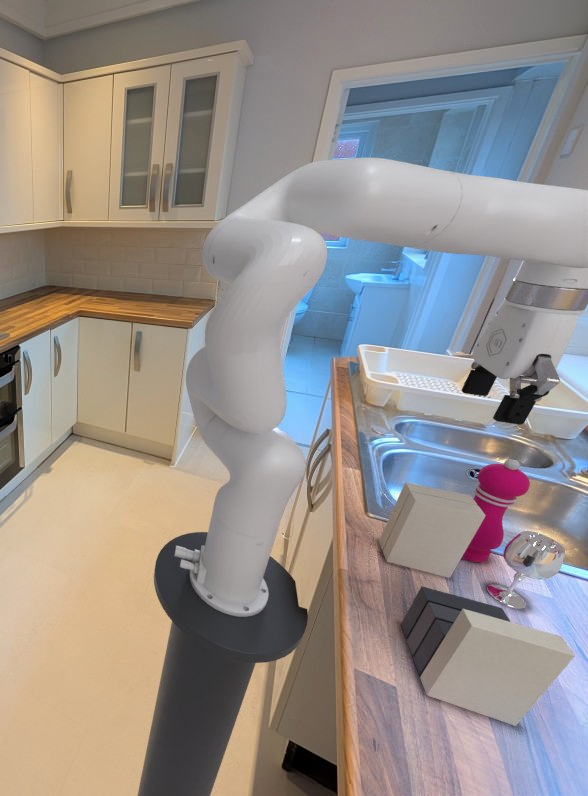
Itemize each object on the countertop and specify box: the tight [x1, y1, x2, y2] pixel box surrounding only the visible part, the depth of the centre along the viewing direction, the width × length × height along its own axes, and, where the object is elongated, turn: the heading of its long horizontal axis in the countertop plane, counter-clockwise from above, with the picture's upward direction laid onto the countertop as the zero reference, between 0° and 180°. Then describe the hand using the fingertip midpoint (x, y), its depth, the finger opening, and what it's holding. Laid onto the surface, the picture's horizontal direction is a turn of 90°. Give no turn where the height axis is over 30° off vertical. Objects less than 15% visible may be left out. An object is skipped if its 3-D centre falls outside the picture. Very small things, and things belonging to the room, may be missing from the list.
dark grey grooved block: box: [400, 585, 511, 676], centre depth 58 cm, size 9×8×8 cm
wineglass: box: [486, 530, 566, 610], centre depth 67 cm, size 6×6×12 cm
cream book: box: [419, 609, 576, 727], centre depth 53 cm, size 9×2×14 cm, turn 67°
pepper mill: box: [461, 458, 531, 563], centre depth 74 cm, size 7×7×20 cm
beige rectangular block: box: [378, 481, 486, 579], centre depth 74 cm, size 9×5×14 cm, turn 67°
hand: (489, 407), depth 65 cm, fingers open, 9 cm apart
